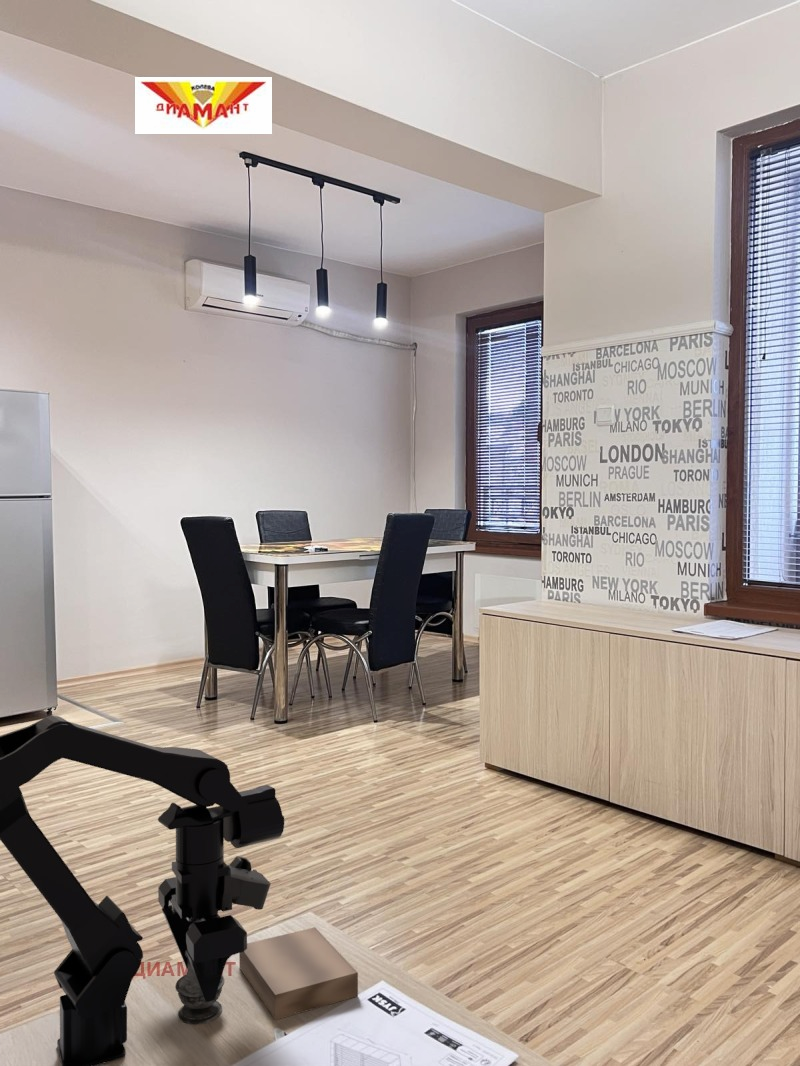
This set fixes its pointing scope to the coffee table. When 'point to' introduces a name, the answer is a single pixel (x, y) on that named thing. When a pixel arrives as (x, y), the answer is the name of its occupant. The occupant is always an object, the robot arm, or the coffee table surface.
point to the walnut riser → (298, 972)
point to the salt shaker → (196, 999)
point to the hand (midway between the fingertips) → (200, 983)
